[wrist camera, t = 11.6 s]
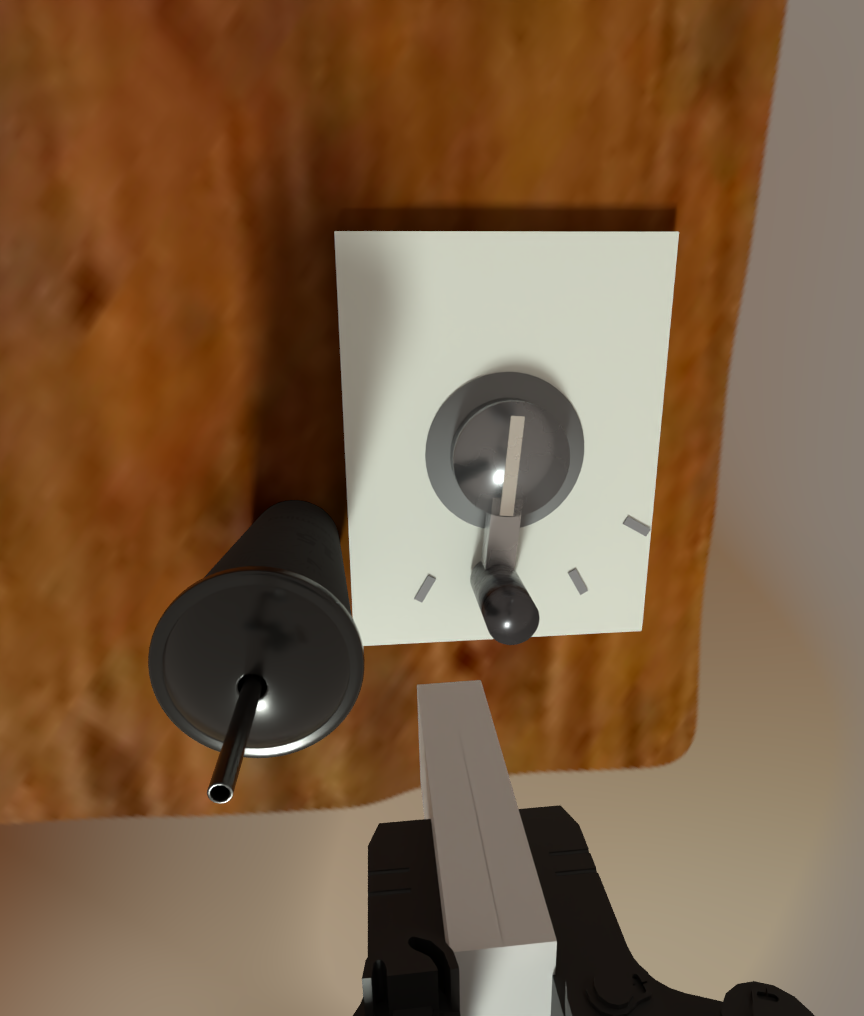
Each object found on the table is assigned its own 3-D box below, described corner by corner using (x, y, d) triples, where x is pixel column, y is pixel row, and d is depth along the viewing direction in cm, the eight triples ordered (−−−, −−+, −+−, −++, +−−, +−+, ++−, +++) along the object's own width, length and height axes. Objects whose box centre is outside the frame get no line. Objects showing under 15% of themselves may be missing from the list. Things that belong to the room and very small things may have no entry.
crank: (455, 393, 34) (471, 409, 28) (568, 401, 34) (604, 418, 29) (437, 595, 37) (448, 643, 32) (541, 599, 38) (569, 646, 32)
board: (335, 234, 32) (334, 230, 31) (668, 234, 34) (680, 231, 32) (354, 636, 39) (354, 647, 37) (633, 621, 40) (642, 631, 39)
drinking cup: (337, 620, 38) (308, 930, 19) (208, 579, 37) (38, 869, 18) (385, 503, 36) (405, 715, 17) (251, 454, 35) (112, 628, 16)
